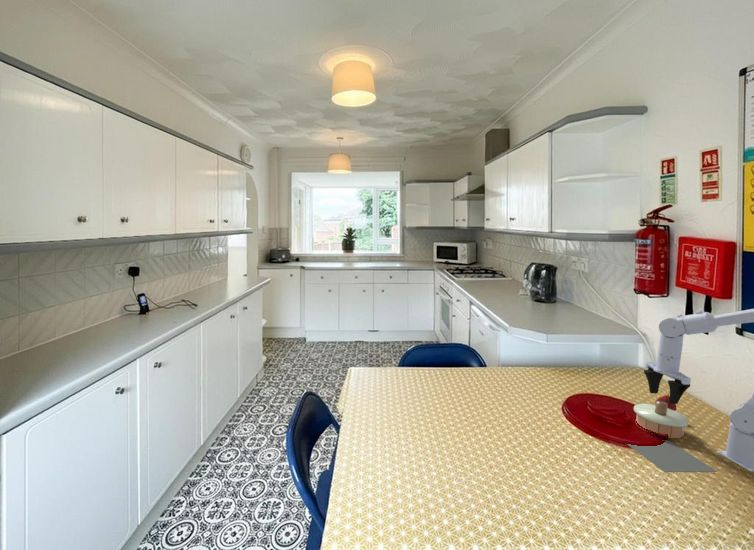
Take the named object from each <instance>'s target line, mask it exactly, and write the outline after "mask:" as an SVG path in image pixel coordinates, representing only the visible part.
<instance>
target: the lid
mask: <svg viewBox="0 0 754 550" xmlns="http://www.w3.org/2000/svg"><path fill="white" fill-rule="evenodd" d="M655 402H656V405H655V404H649V403H637V404H634V406H633V411H634V413H635V414H636V415H637V414H638V415H639V416H641V417H643V418H645V419H647V420H650V421H653V422H656V423H659V424H663V425H667V426H673V427H685V428H686V427H687V426H689V423H690V420H689V419H688V418H687V416H685V415H684V414H682V413H680V412H678V411H677V410H676V411H674V410H671V409H668V408H667V407H668V404H667V403H666V402H663V401H656V400H655Z"/></svg>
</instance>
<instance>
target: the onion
mask: <svg viewBox="0 0 754 550" xmlns="http://www.w3.org/2000/svg"><path fill="white" fill-rule="evenodd" d="M669 398H670V394H668V393H665V394H664V395H663V396H660V397H658V398H657V399H656V400H655V403H654V405H656V401H663V402H666V403H667V404H668V407H667V408H668V409H671V410H674V411H676V412H677V404H671V403H670V400H669Z"/></svg>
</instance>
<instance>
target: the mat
mask: <svg viewBox="0 0 754 550" xmlns="http://www.w3.org/2000/svg"><path fill="white" fill-rule="evenodd" d="M664 441H665V442H664V443H663V444H661V445H657V446H637V445H631V444H626V445H628V446H629V447H630V448H631V449H632V450H634V451H635V452H636V453H638V454H640V455H641V456H642V457H644V458H645V459H646V460H648V461H649V462H650V463H651V464H653V465H655V466H656V468H658V469H660V470H661V471H662V472H664V473H717V472H718V470H717V469H714V468H713V467H712V466H710V465H708V464H706V463H705V462H704V461H702V460H700V459H699V458H697V457H696V456H694V455H692V454H691V453H690V452H687V451H686V450H684V449H683V448H682V447H680V446H678V445H676V444H675V443H674V442H671V441H670V440H664Z"/></svg>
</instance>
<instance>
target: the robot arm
mask: <svg viewBox="0 0 754 550" xmlns="http://www.w3.org/2000/svg"><path fill="white" fill-rule="evenodd" d="M749 323H754V308H750V309H745V310H740V311H739V310H738V311H734V312H733V311H731V312H729V313H727V312H726V313H722V314H717V315H716V314H713V313H711V312H708V311H703V310H699V311H695V313H693V314H687V315H683V314H678V315H677V317H676V316H675V317H674V316H673V317H668V318H664V319H663V320H661V321H660V322H659V325H658V330H659V333H660V337H659V343H658V344H659V345H658V348H657V349H658V350H657V359H656V363H655V362H653V361H645V368H646V369H644V370H643V373H644V375H645V377H646V379H647V383H648V389H649V393H650V394H658V392H659V389H660V385H661V381H662V378H663V376H666V377H668V378H671V380H669V379H668V380H667V383H668V387H669V397H670V398H669V400H670V403H671V404H676V405H677V404H679V402H680V399H681V398H682V396H683V395H684V393H685V392H686V391H687V390H688V389H689V388H690V387H691V382H692V378H691V377H690V376H688V375H685V374H683V373H682V372H681V371H680V366H681V365H680V364H681V360H682V358H681V357H682V353H683V352H682V351H683V343H684V342H683V341H684V335H687V336H689V335H691V336H692V335H698V334H706V333H713V332H715V331H716V330H717V328H718V327H721V326H722V327H723V326H730V325H733V326H734V325H739V324H740V325H742V324H749ZM729 417H730V423H729V430H728V436H727V441H726V448H725V450H716V453H718V454H720V455H721V456H723V457H725V458H726V459H728V460H730V461H732V462H734V463H736V464H737V465H739V466H741V467H742V468H744V469H745V470H747V471H749V472H752V473H753V472H754V393H752V395H751V396H750V398H748V400H747V401H745V402H744V403H742V404H740V405H739V406H738V408H736V409H734V410H733V411H732V412H731V414H730V416H729Z"/></svg>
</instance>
